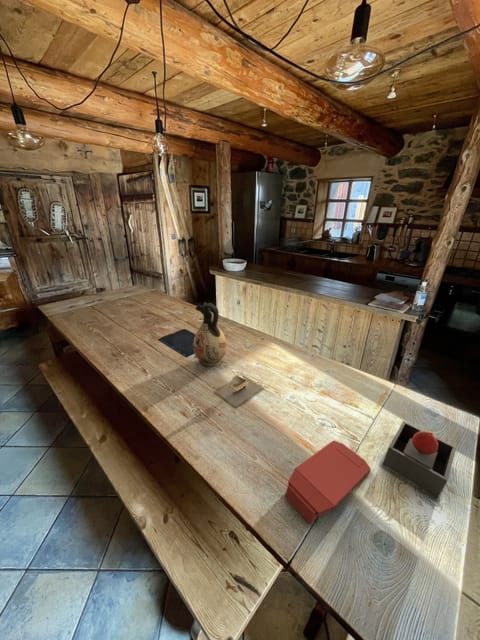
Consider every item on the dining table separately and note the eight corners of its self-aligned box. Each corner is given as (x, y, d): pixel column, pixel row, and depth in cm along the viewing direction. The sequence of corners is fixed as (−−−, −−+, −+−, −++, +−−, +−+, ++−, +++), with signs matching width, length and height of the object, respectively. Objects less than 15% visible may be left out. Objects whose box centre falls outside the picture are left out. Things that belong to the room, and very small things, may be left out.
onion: (412, 458, 73) (421, 438, 70) (406, 441, 78) (414, 421, 75) (436, 463, 72) (446, 443, 68) (428, 445, 77) (437, 425, 73)
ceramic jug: (187, 361, 124) (181, 301, 110) (211, 348, 134) (209, 292, 121) (211, 376, 113) (209, 313, 100) (236, 361, 124) (236, 301, 111)
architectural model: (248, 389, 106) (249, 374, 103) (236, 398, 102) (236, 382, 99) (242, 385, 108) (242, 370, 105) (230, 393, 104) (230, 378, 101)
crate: (396, 438, 86) (403, 420, 83) (446, 465, 78) (456, 447, 74) (381, 465, 77) (388, 447, 74) (436, 500, 69) (447, 481, 66)
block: (405, 448, 82) (410, 437, 79) (432, 463, 77) (437, 452, 75) (398, 463, 77) (403, 452, 75) (426, 480, 73) (432, 468, 71)
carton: (332, 450, 86) (279, 490, 70) (335, 438, 84) (282, 477, 69) (367, 479, 77) (317, 532, 62) (373, 466, 76) (322, 518, 60)
